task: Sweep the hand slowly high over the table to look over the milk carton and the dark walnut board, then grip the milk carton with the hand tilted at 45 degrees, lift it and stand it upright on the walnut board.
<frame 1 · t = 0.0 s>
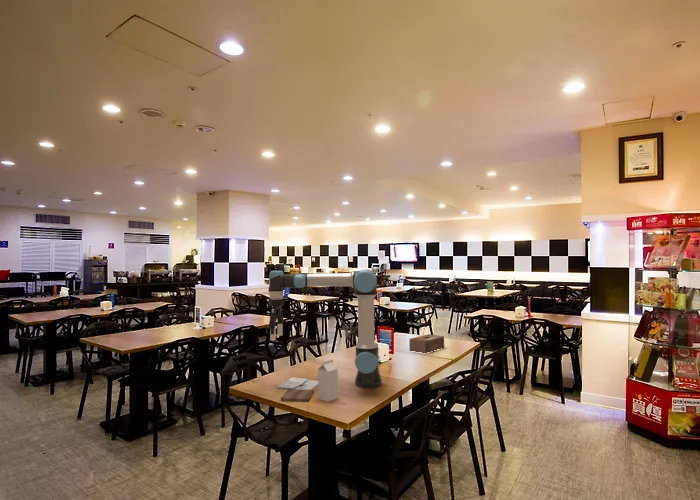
hand: (276, 337, 216), 28 cm above the table, tool pointing down, fingers open, 13 cm apart
milk carton: (328, 399, 199), on the table
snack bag: (300, 386, 222), on the table
walnut board: (297, 396, 203), on the table
tissue box cover: (427, 350, 306), on the table
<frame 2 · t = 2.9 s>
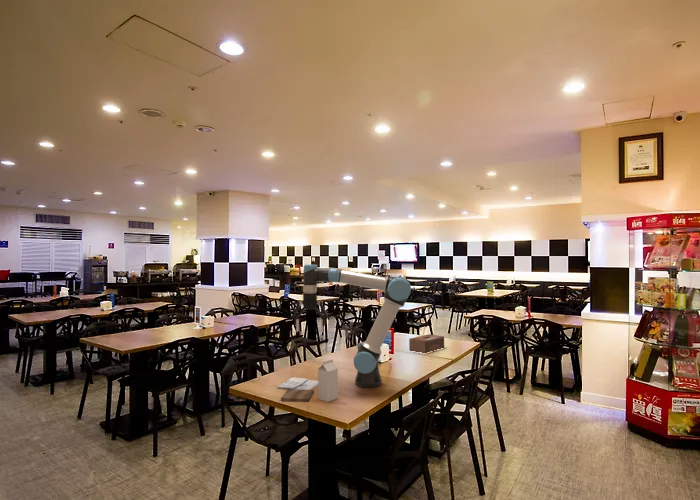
hand: (309, 331, 215), 31 cm above the table, tool pointing down, fingers open, 13 cm apart
nothing on the table moved.
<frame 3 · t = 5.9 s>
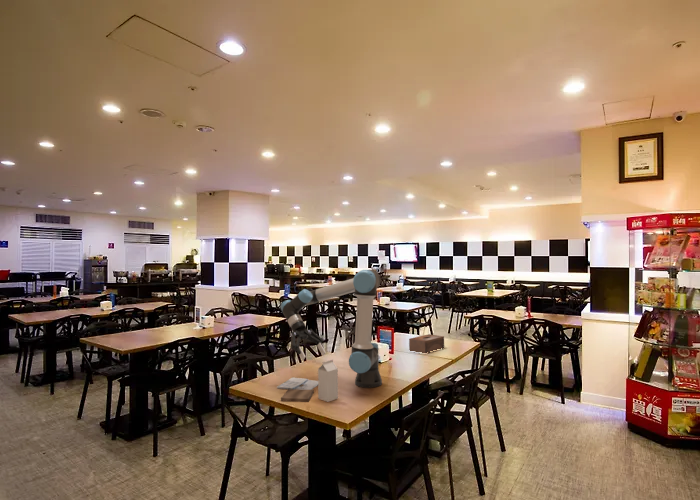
hand: (314, 356, 207), 20 cm above the table, tool tilted 45°, fingers open, 13 cm apart
nothing on the table moved.
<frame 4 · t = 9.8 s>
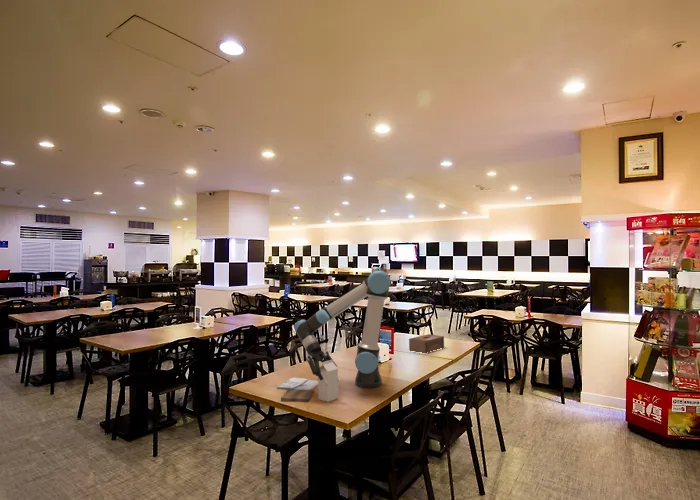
hand: (332, 383, 197), 9 cm above the table, tool tilted 45°, fingers closed on milk carton, 7 cm apart
milk carton: (328, 399, 199), on the table, touching gripper
everything else where it was.
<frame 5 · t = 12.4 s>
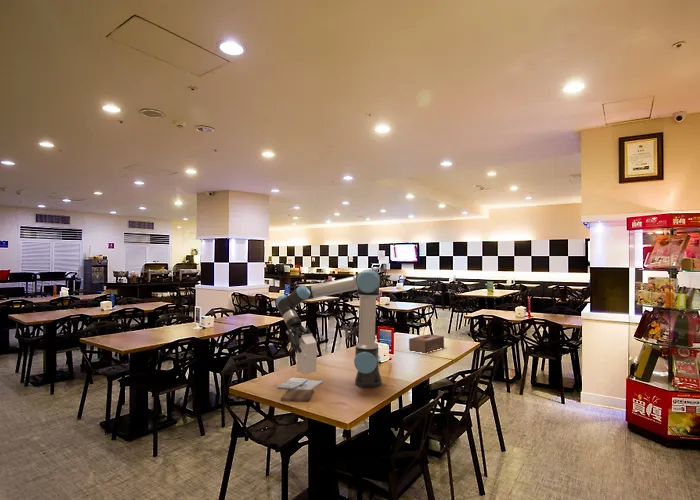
hand: (311, 356, 200), 22 cm above the table, tool tilted 45°, fingers closed on milk carton, 7 cm apart
milk carton: (306, 372, 202), point 13 cm above the table, touching gripper
everything else where it was.
when the fingers open (12 cm above the table, at t = 15.4 s): milk carton drops 1 cm, resting on walnut board.
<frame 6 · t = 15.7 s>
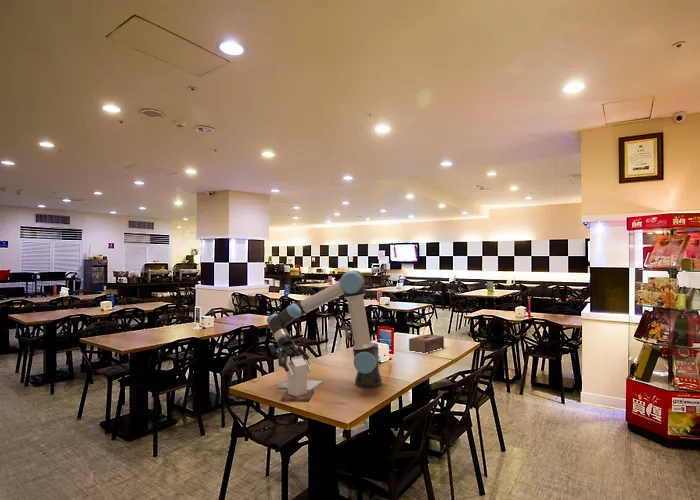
hand: (301, 373, 201), 12 cm above the table, tool tilted 45°, fingers open, 11 cm apart
milk carton: (297, 394, 203), point 1 cm above the table, touching walnut board
everything else where it was.
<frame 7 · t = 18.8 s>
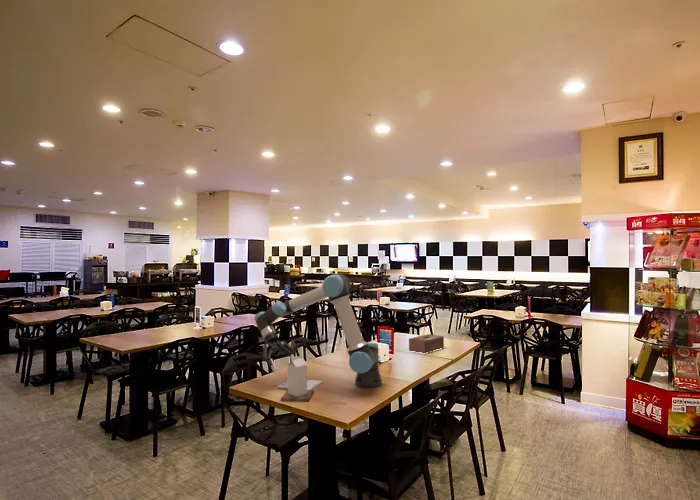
hand: (285, 368, 211), 13 cm above the table, tool tilted 45°, fingers open, 13 cm apart
nothing on the table moved.
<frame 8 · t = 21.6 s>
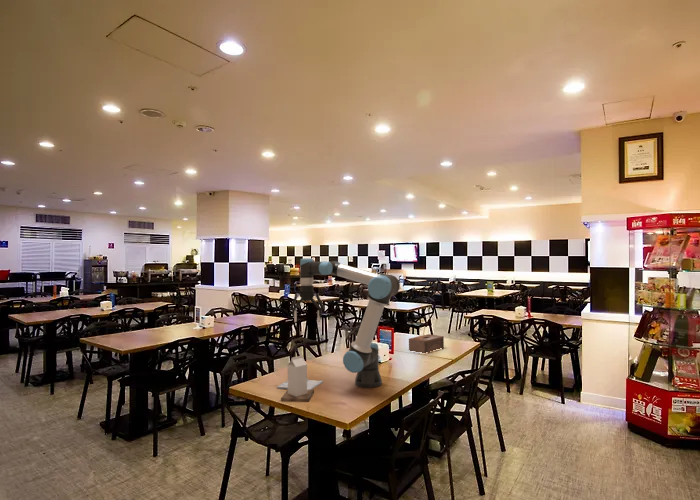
hand: (307, 321, 228), 35 cm above the table, tool pointing down, fingers open, 13 cm apart
nothing on the table moved.
at the end: milk carton inside the target area on the walnut board (0.2 cm from its centre), point 1.3 cm above the walnut board's base; milk carton tilted 0°; the gripper is holding nothing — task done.
